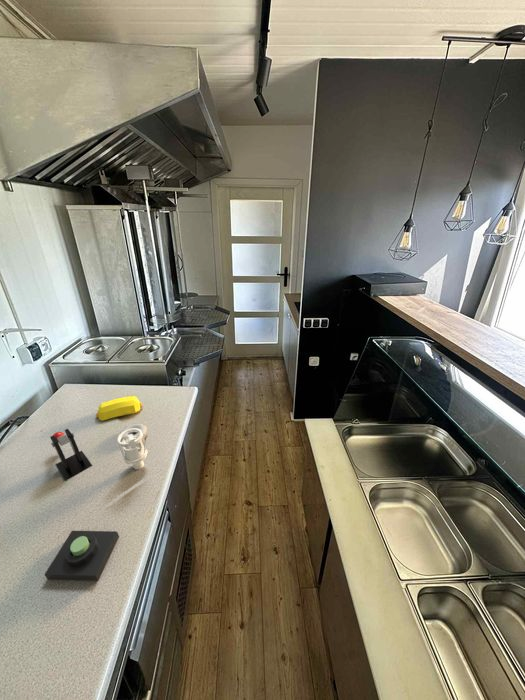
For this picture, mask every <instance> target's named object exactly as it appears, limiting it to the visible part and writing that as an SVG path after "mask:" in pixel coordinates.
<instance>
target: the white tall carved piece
mask: <svg viewBox="0 0 525 700" xmlns="http://www.w3.org/2000/svg"><path fill="white" fill-rule="evenodd" d="M130 432H139V433H140V436H139V438H138V436H133V435H134V434H133V433H131V434H130V435H128V437H129V438H128V439H126V440H124V439H123V441H122V442H120V440H121V438H122V437H123V436H124V435H126V434H128V433H130ZM119 434H120V433H119ZM141 439H142V440H141ZM117 443H118V446H119V450H120V453H121V455H122V457H123V462H124V463H125V464H127V465H133V468H134V470H140V469H142V468H143V467H144V466H145V463H144V460H145V459H146V457H147V456H148V453H149V452H148V449H147V446H146V445H147V444H146V441H145V439H144V437H143V434H142V431H141V430H140V429H138V428H131V429H128V430H126V431H124V432H122V433H121V434H120V435H118V436H117Z"/></svg>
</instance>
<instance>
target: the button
mask: <svg viewBox="0 0 525 700" xmlns="http://www.w3.org/2000/svg"><path fill="white" fill-rule="evenodd" d="M89 545H90V543H89V541H88V539H87V537H85V536H81V537H79V538H77V539H75V540H74V541H73V543H72V544H71V546H70V550H71V552H72V554H73V555H74V556H80V555H82V554H84V553H85V552H86V551H87V550H88V548H89Z"/></svg>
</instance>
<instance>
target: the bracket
mask: <svg viewBox="0 0 525 700" xmlns="http://www.w3.org/2000/svg"><path fill="white" fill-rule="evenodd" d="M64 434H65V435H66V436H67V438H68V440H69V442H68V443H69V444H70V447H71V449H72V451H73V454H72V455H70V456H69V457H66V456H65V455H64V452H63V449H62V448H61V445H60V444H59V443H58V441H57V440H56V438H55V437H54V434H53V435H51V436H49V439H50V440H51V443H50V444H51V447H52V448H54V449H55V451H56V453H57V455H58V458H59V460H60V461H59V462H57V463H56V464H55V466H56V468H57V470H58V471H59V473H60V475H61V476H62V478H63V481H65V482H67V481H69V480H70V479H72V478H73V477H75V476H77V475H79V474H80V473H83V472H84V471H86V470H87V469H90V468H91V467H93V464H92V463H91V461H90V460H89V458H88V457H87V456H86V455H85V453H84V452H83V450H79V447H78V444H77V442H76V440H75V434H74V433H73V432H71V430H69V428H66V429H64Z"/></svg>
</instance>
